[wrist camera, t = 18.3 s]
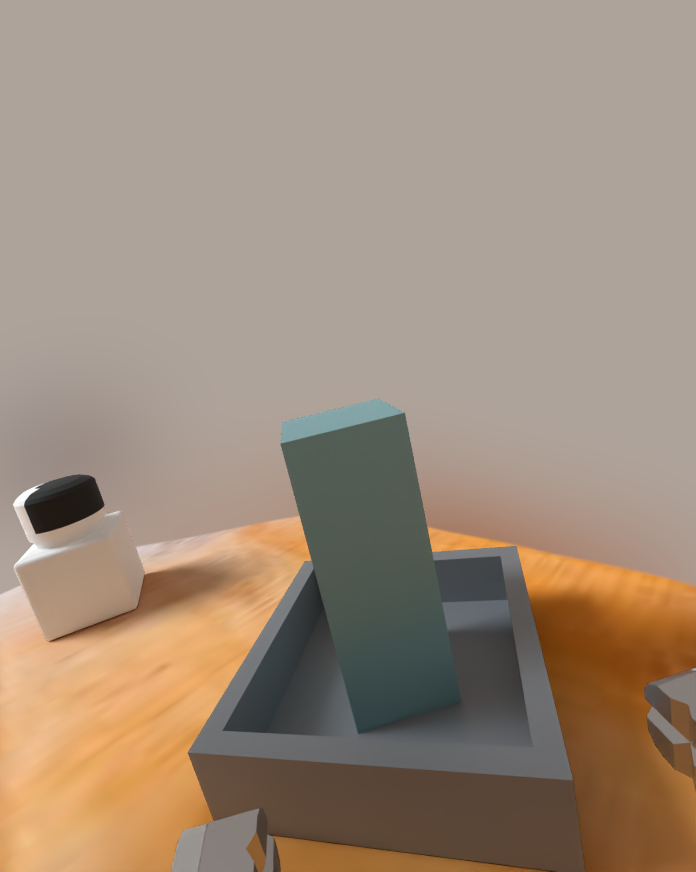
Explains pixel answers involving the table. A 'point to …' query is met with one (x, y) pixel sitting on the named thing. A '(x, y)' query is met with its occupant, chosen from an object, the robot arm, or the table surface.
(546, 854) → the box
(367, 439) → the tall teal prism
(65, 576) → the medicine bottle
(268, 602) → the table surface
